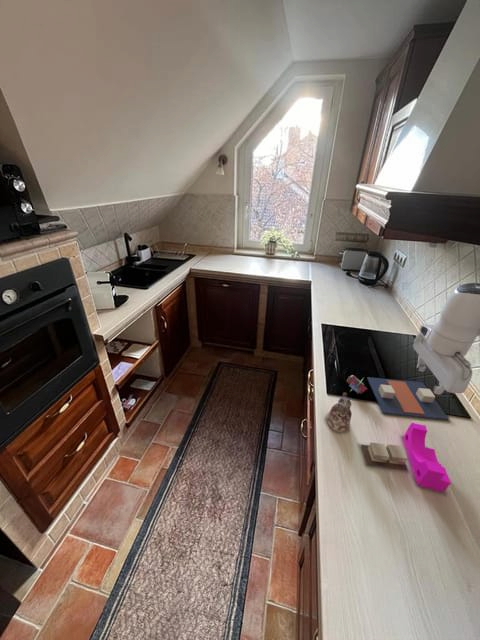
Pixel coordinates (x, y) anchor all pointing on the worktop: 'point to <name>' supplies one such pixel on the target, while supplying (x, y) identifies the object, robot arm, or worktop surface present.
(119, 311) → the worktop surface
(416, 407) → the blue orange board
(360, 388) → the geometric puzzle
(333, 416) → the figurine
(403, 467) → the word strip left
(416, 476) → the toy block
